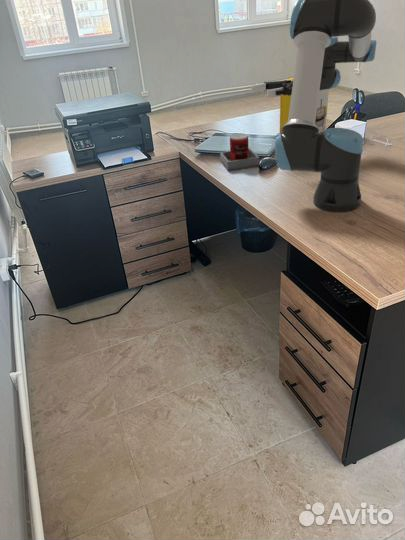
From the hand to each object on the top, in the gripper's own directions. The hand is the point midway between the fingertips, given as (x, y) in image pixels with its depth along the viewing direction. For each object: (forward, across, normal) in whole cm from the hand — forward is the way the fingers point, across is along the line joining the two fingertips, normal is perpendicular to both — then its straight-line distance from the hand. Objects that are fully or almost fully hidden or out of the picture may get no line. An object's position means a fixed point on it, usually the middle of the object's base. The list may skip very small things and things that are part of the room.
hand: (259, 91), depth 160 cm
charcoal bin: (+10, 0, -28) cm, 29 cm away
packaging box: (-37, +24, -28) cm, 53 cm away
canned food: (+10, 0, -27) cm, 29 cm away
